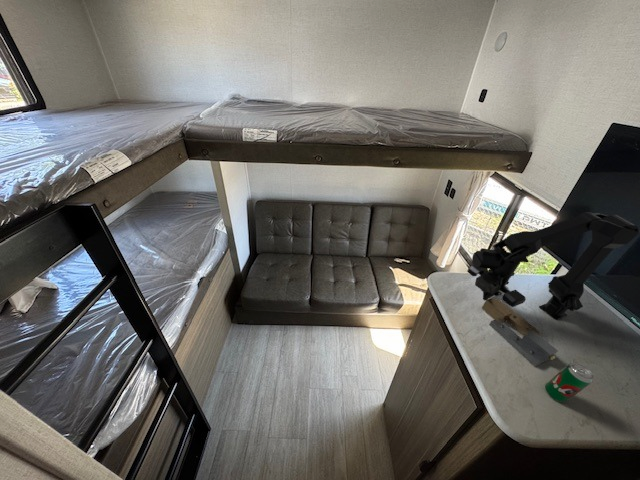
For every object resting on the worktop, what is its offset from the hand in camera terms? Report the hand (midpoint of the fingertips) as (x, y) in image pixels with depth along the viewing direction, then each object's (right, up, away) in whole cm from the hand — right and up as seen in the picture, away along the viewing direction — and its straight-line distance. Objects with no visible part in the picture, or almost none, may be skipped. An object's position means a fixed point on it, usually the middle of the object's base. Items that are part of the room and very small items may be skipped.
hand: (484, 299), depth 95 cm
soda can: (+4, -20, -24) cm, 32 cm away
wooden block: (+5, -7, -5) cm, 10 cm away
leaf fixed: (+4, -11, -11) cm, 17 cm away
